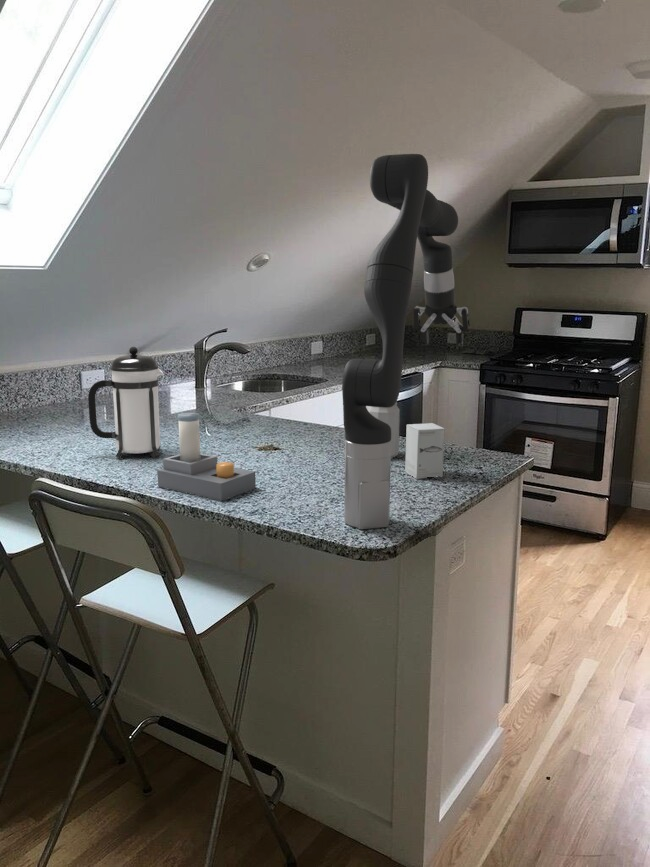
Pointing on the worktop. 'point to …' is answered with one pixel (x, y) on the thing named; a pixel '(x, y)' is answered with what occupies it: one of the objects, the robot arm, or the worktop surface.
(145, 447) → the coffee press
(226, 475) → the button
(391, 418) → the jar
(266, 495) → the worktop surface
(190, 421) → the cartridge
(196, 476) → the housing
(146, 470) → the worktop surface
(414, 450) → the supplement box
